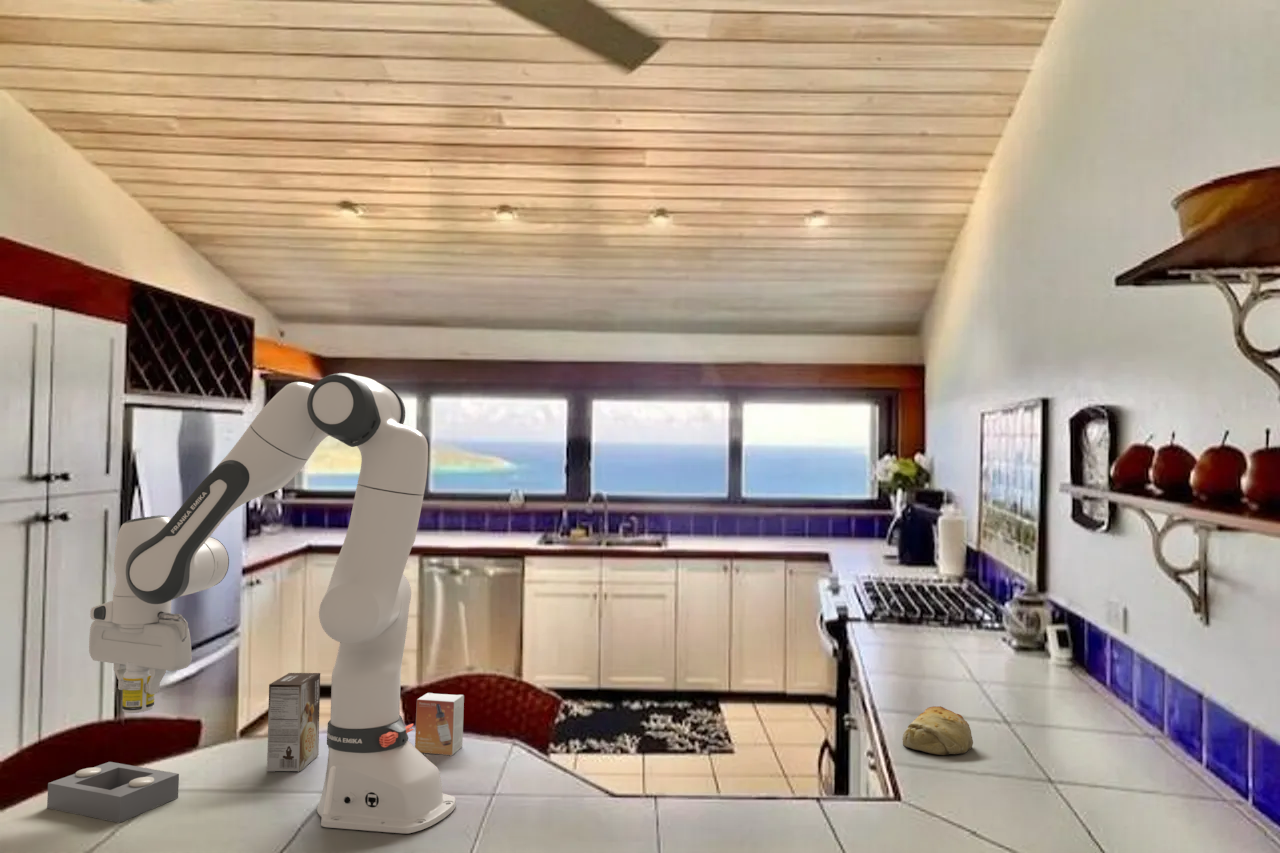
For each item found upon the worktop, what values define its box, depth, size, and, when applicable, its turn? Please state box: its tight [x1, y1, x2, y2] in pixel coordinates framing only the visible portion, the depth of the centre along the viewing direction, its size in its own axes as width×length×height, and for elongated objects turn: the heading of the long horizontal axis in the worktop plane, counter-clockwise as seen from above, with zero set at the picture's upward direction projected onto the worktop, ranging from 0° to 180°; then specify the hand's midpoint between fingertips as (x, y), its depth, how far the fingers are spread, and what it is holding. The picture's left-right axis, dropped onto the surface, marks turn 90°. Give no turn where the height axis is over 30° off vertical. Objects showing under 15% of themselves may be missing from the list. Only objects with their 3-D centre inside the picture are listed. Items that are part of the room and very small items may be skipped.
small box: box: [414, 692, 465, 757], centre depth 173 cm, size 8×6×10 cm
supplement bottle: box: [121, 662, 155, 714], centre depth 149 cm, size 5×5×8 cm
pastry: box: [902, 705, 974, 756], centre depth 179 cm, size 14×12×8 cm
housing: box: [46, 761, 180, 824], centre depth 144 cm, size 16×11×4 cm
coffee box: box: [266, 672, 321, 772], centre depth 164 cm, size 9×6×16 cm
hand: (138, 691), depth 149 cm, fingers closed on supplement bottle, 5 cm apart
